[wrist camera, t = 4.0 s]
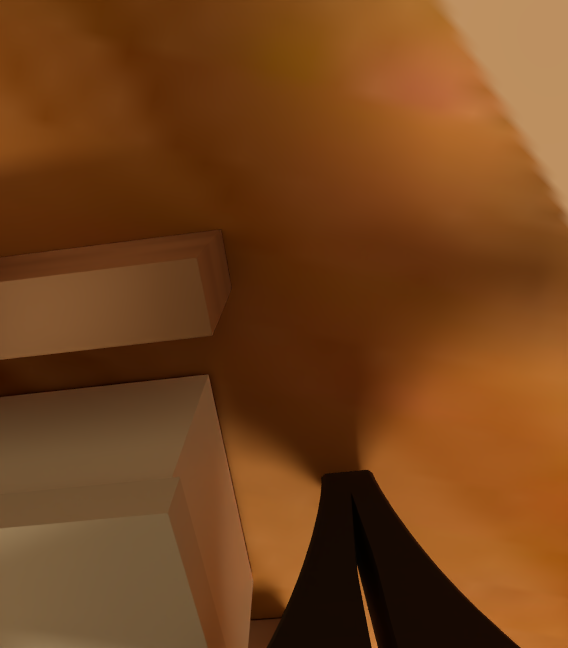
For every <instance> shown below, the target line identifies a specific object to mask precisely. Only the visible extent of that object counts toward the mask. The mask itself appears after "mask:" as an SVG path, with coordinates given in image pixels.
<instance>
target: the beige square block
mask: <svg viewBox="0 0 568 648" xmlns="http://www.w3.org/2000/svg"><path fill="white" fill-rule="evenodd" d="M252 591H253V578H252V573H251V569H250V564H249V560H248V555H247V550H246V546H245V541H244V536H243V532H242V527H241V523H240V518H239V513H238V509H237V504H236V499H235V495H234V490H233V486H232V481H231V476H230V472H229V467H228V462H227V458H226V453H225V449H224V444H223V439H222V435H221V430H220V425H219V421H218V416H217V412H216V407H215V402H214V398H213V393H212V388H211V384H210V379H209V375H199V376H190V377H181V378H172V379H162V380H153V381H144V382H135V383H126V384H116V385H107V386H98V387H89V388H80V389H70V390H61V391H52V392H43V393H34V394H24V395H15V396H6V397H0V648H248V642H249V629H250V616H251V604H252Z"/></svg>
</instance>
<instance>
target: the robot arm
mask: <svg viewBox="0 0 568 648" xmlns="http://www.w3.org/2000/svg"><path fill="white" fill-rule="evenodd" d="M321 482H322V485H321V496H320V503H319V508H318V514H317V518H316V522H315V526H314V530H313V534H312V538H311V541H310V545H309V548H308V551H307V554H306V557H305V560H304V563H303V566H302V569H301V572H300V575H299V577H298V580H297V583H296V585H295V588H294V590H293V593H292V595H291V597H290V600H289V602H288V604H287V607H286V609H285V611H284V613H283V615H282V617H281V620H280V622H279V624H278V626H277V628H276V630H275V632H274V634H273V636H272V638H271V640H270V642H269V644H268V646H267V647H266V648H372V647H371V642H370V637H369V632H368V627H367V621H366V616H365V611H364V606H363V600H362V595H361V590H360V584H359V579H358V571H357V566H358V570H359V574H360V578H361V582H362V586H363V590H364V594H365V598H366V602H367V606H368V610H369V614H370V617H371V621H372V625H373V629H374V633H375V637H376V641H377V645H378V648H520V647H519V646H518V645H517V644H516V643H514V642H513V641H512V640H511V639H510V638H509V637H508V636H507V635H506V634H504V633H503V632H502V631H501V630H500V629H499V628H498V627H497V626H496V625H495V624H494V623H493V622H491V621H490V620H489V619H488V618H487V617H486V616H485V615H484V614H483V613H482V612H481V611H479V610H478V609H477V608H476V607H475V606H474V605H473V604H472V603H471V602H470V601H469V600H468V599H467V598H466V597H465V596H464V595H463V594H462V593H461V592H460V591H459V590H458V588H457V587H456V586H455V585H454V584H453V583H452V582H451V581H450V580H449V579H448V578H447V577H446V576H445V574H444V573H443V572H442V571H441V570H440V569H439V568H438V567H437V565H436V564H435V563H434V562H433V561H432V560H431V558H430V557H429V556H428V555H427V554H426V552H425V551H424V550H423V549H422V547H421V546H420V545H419V544H418V542H417V541H416V540H415V539H414V537H413V536H412V535H411V533H410V532H409V531H408V529H407V528H406V526H405V525H404V524H403V522H402V521H401V520H400V518H399V517H398V515H397V514H396V513H395V511H394V510H393V508H392V507H391V505H390V503H389V502H388V500H387V499H386V497H385V496H384V494H383V492H382V491H381V489H380V487H379V485H378V484H377V482H376V480H375V478H374V476H373V474H372V472H370V471H369V470H360V471H350V472H339V473H329V474H324V475H323V476H322V477H321Z"/></svg>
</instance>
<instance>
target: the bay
mask: <svg viewBox="0 0 568 648" xmlns="http://www.w3.org/2000/svg"><path fill="white" fill-rule="evenodd" d="M231 289H232V287H231V282H230V276H229V271H228V265H227V259H226V254H225V248H224V242H223V237H222V231H221V229H220V230H212V231H204V232H196V233H188V234H180V235H173V236H165V237H157V238H149V239H141V240H133V241H125V242H117V243H109V244H102V245H94V246H86V247H78V248H70V249H62V250H54V251H46V252H38V253H31V254H23V255H15V256H7V257H0V360H2V359H11V358H20V357H29V356H38V355H46V354H55V353H64V352H73V351H82V350H91V349H99V348H108V347H117V346H126V345H135V344H143V343H152V342H161V341H170V340H179V339H187V338H196V337H205V336H213V333H214V331H215V328H216V326H217V324H218V321H219V319H220V316H221V314H222V311H223V309H224V306H225V304H226V301H227V299H228V297H229V294H230V292H231ZM280 620H281V618H278V619H265V620H252V621H250V629H249V642H248V648H266V647H267V646H268V644H269V642H270V640H271V638H272V636H273V634H274V632H275V630H276V628H277V626H278V624H279V622H280Z"/></svg>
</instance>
